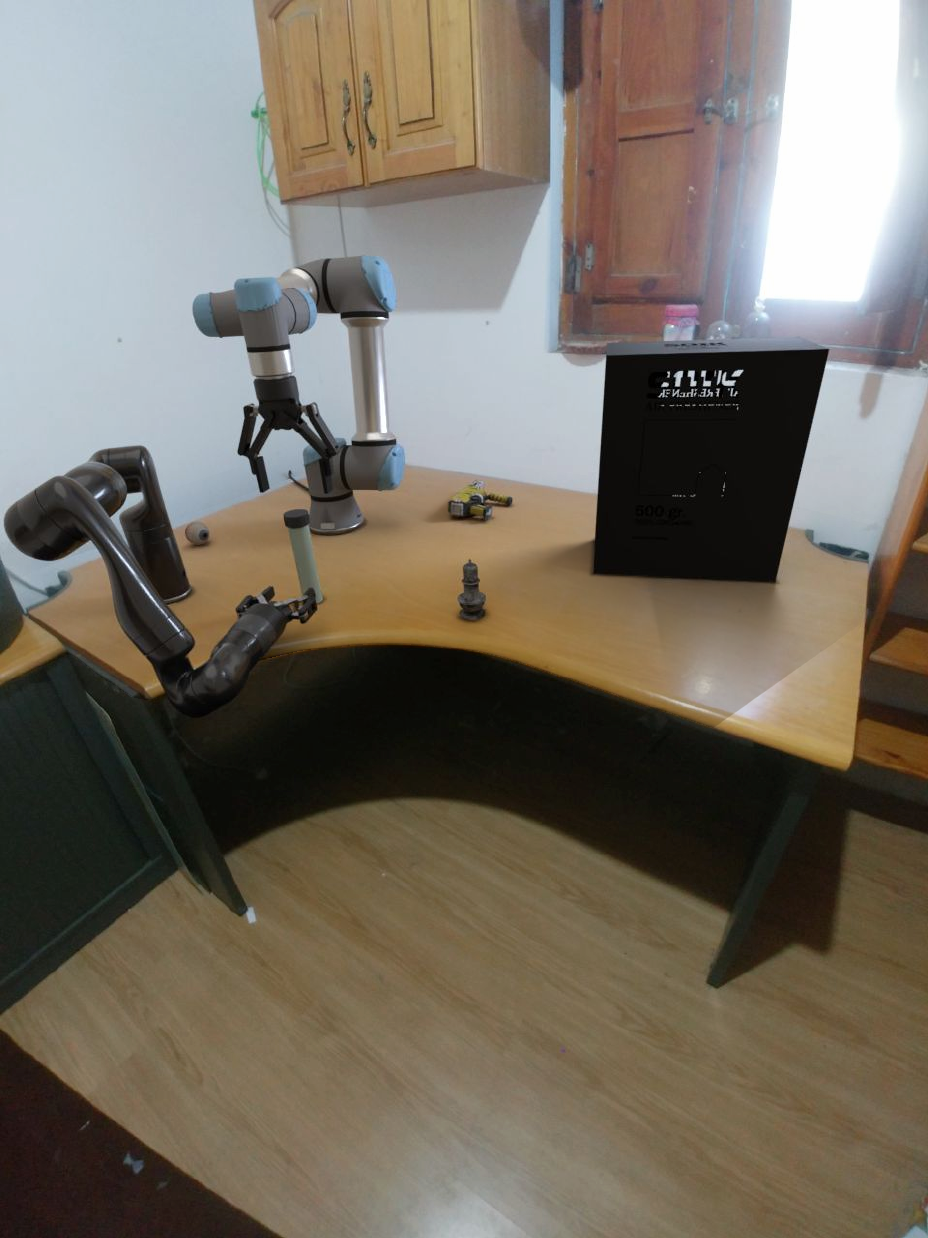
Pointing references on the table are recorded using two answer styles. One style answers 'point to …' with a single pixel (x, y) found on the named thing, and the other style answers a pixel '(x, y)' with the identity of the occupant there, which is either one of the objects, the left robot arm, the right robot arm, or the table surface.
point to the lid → (296, 518)
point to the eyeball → (197, 533)
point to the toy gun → (475, 501)
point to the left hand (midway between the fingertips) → (292, 590)
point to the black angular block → (703, 455)
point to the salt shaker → (471, 594)
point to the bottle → (305, 560)
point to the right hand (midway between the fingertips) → (296, 491)
